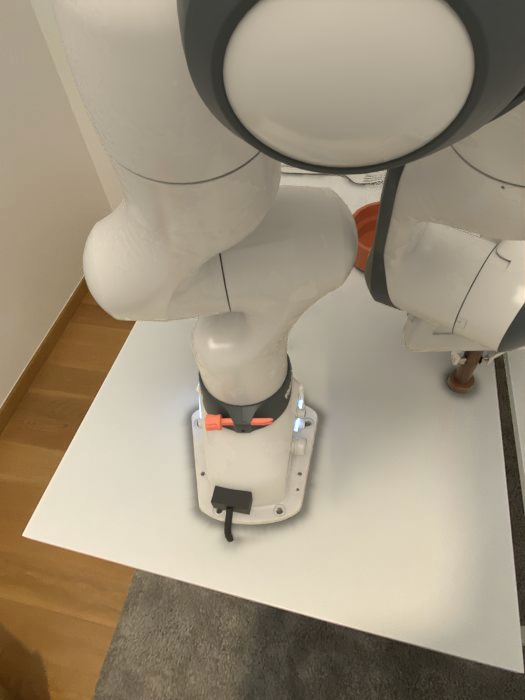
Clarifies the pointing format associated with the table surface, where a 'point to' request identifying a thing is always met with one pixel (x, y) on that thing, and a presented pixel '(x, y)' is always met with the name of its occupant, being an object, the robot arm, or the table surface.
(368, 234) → the bowl
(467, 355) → the masher
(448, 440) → the table surface
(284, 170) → the fork
